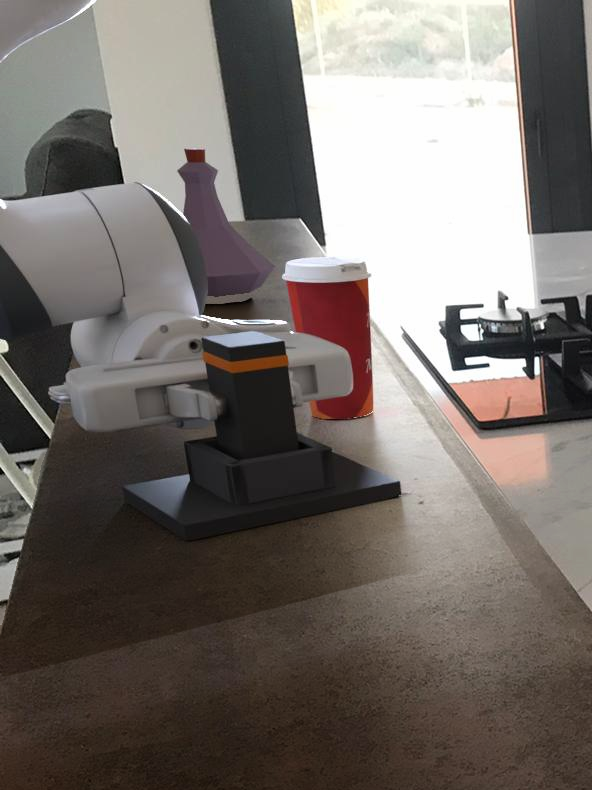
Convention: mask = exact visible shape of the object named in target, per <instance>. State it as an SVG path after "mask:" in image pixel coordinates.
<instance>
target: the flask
mask: <svg viewBox="0 0 592 790" xmlns="http://www.w3.org/2000/svg"><path fill="white" fill-rule="evenodd" d="M183 151H184V154H185V157H186V161H187V162H185V163H184V164H183V165H182V166H181V167H179V169H177V170H176V172H177V173H178V175H179V176H180V178H181V179H182V181H183V182H184V191H185V194H184V195H185V197H184V205H183V211H182V215H183V216H184V217H185V218H186V220H187V221H188V222H189V224H190V226H191V227H192V229H193V231H194V233H195V235H196V237H197V240H198V243H199V245H200V248H201V251H202V255H203V258H204V262H205V267H206V273H207V283H208V293H207V296H214V297H219V296H226V295H235V294H244V293H250V292H252V291H254V290H255V289H257V288H259V287H260V288H261V287H262V286H263V285H264V283H265V282H266V280H267V279H268V277H269V276H270V274H271V273H272V272H273V270H274V269H275V267H276V265H274V264H273V263H272V262H271V261H270V260H269V259H267V257H265V256H264V255H263V254H262V253H260V252H259V251H258V250H257V249H256V248H255V247H254V246H252V244H250V243H249V242H248V241H247V240H246V239H245V238H244V237H243V236H242V235H241V234H240V233H239V232H238V231H237V230H236V229H235V228H234V227H233V226H232V225H231V224H230V222H229V220H228V218H227V215H226V212H225V210H224V208H223V206H222V204H221V201H220V199H219V196H218V192H217V190H216V185H215V182H216V179H217V174H218V172H219V170H218V169H217V168H216V167H214V166H212V165H211V164H209V163H208V162H207V161H206V148H203V147H202V148H201V147H200V148H198V147H197V148H196V147H193V148H192V147H190V148H187V147H186V148H184V149H183Z"/></svg>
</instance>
